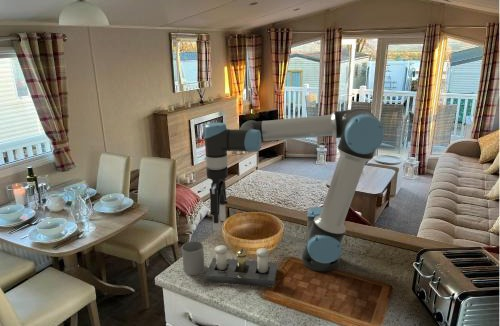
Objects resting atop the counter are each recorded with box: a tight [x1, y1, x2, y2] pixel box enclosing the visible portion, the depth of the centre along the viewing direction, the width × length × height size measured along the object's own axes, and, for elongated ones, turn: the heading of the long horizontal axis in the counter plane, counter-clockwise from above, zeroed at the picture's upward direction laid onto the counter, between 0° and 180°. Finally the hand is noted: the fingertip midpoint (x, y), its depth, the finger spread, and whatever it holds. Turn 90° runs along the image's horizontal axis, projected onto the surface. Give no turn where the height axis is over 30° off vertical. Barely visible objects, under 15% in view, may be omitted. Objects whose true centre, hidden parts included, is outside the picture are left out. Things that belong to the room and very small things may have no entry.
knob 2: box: [255, 247, 270, 274], centre depth 140 cm, size 5×5×8 cm
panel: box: [204, 257, 278, 288], centre depth 143 cm, size 26×12×3 cm, turn 81°
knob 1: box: [214, 244, 228, 271], centre depth 143 cm, size 5×5×8 cm
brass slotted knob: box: [235, 248, 248, 271], centre depth 141 cm, size 4×4×8 cm
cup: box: [181, 240, 206, 276], centre depth 147 cm, size 8×8×10 cm
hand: (219, 224), depth 138 cm, fingers open, 7 cm apart
